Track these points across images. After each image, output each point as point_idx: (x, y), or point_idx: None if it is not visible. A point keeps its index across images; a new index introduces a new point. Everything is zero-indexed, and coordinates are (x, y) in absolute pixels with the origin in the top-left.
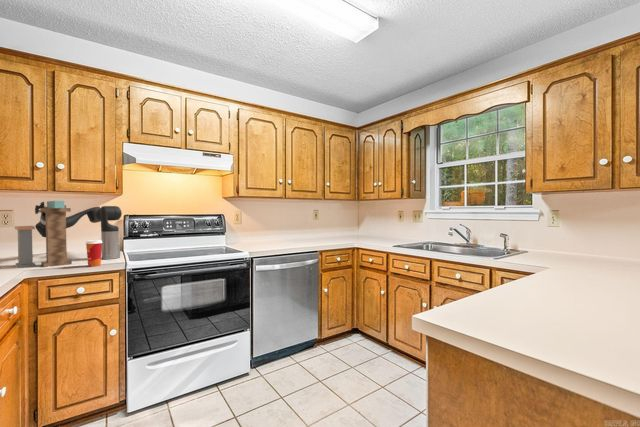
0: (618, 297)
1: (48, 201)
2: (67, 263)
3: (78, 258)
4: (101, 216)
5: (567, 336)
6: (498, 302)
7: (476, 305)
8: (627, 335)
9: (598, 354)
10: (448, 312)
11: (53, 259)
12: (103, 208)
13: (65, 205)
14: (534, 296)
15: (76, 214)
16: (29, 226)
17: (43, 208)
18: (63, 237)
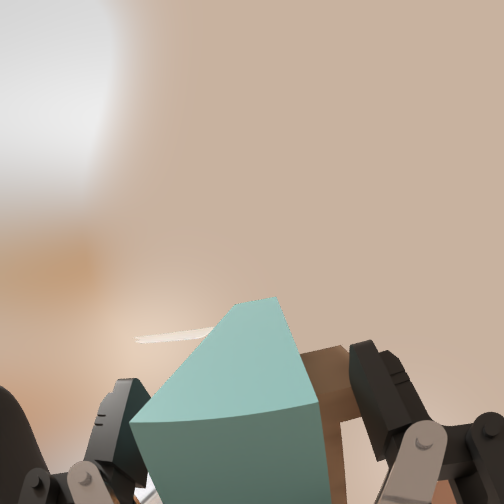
0: (143, 336)
1: (294, 342)
2: None
3: None
4: (20, 447)
5: (196, 331)
6: (167, 339)
7: (175, 339)
8: (188, 330)
9: (207, 328)
10: (189, 338)
11: None
12: (7, 392)
13: (39, 470)
14: (152, 339)
15: None
16: (446, 489)
17: (337, 347)
18: None
